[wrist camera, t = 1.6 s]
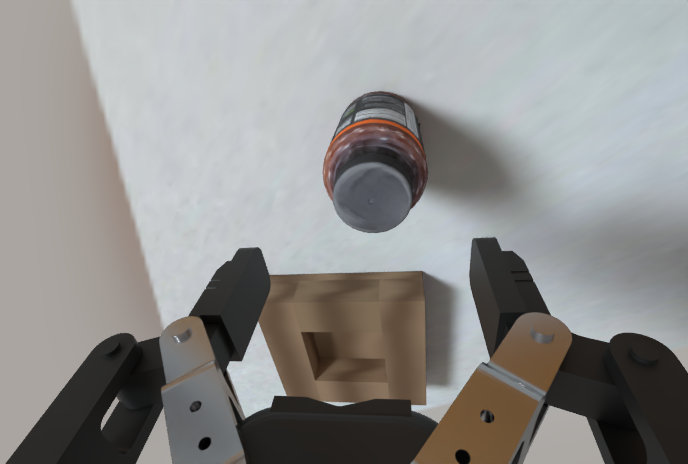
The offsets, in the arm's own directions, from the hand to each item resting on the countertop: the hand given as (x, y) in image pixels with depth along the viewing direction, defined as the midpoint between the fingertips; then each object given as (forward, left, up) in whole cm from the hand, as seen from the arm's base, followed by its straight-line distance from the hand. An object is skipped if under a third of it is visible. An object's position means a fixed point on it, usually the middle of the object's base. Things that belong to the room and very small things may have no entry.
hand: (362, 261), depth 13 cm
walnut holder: (+5, +22, -16) cm, 28 cm away
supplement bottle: (0, 0, -16) cm, 16 cm away
